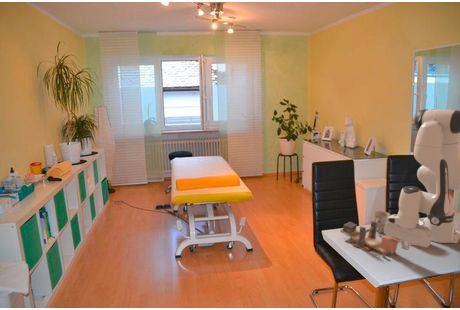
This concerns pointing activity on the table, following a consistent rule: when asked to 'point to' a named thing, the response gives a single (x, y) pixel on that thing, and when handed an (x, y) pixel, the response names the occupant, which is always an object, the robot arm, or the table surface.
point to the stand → (361, 242)
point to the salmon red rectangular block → (389, 243)
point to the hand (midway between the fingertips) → (405, 249)
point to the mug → (380, 220)
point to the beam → (351, 231)
